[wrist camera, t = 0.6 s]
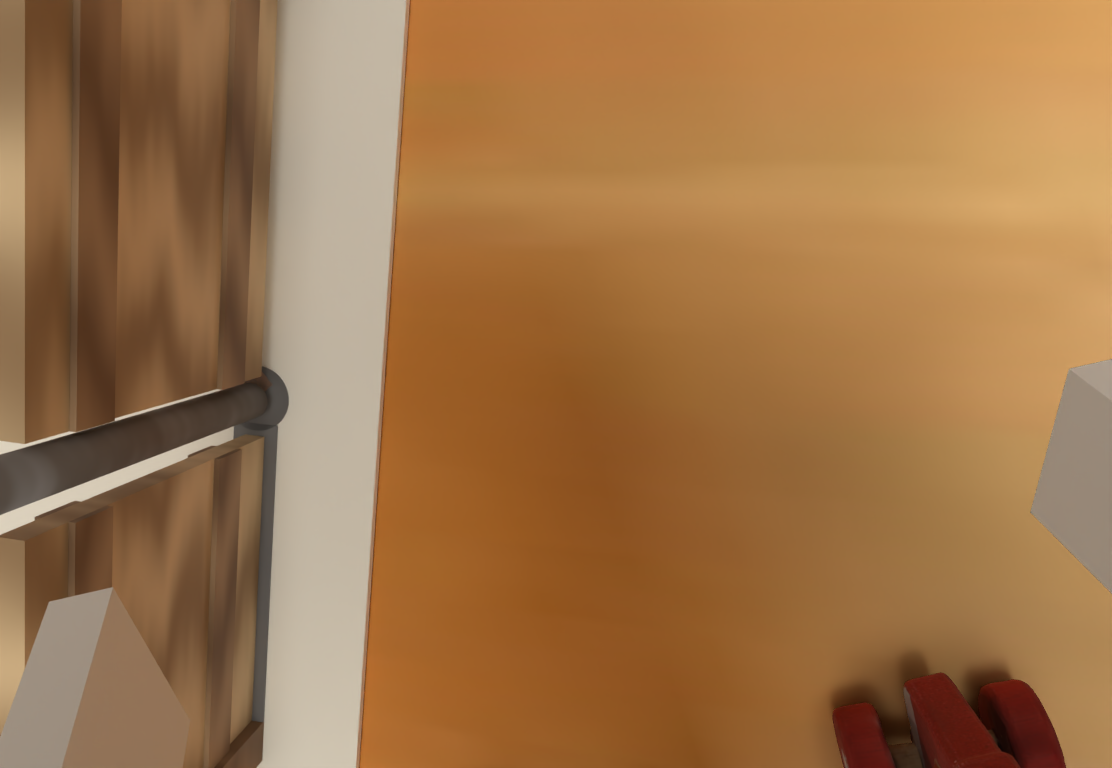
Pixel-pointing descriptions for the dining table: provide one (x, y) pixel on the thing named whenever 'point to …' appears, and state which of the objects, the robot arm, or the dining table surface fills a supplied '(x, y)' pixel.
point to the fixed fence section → (159, 586)
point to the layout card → (315, 372)
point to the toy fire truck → (953, 729)
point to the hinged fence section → (129, 229)
